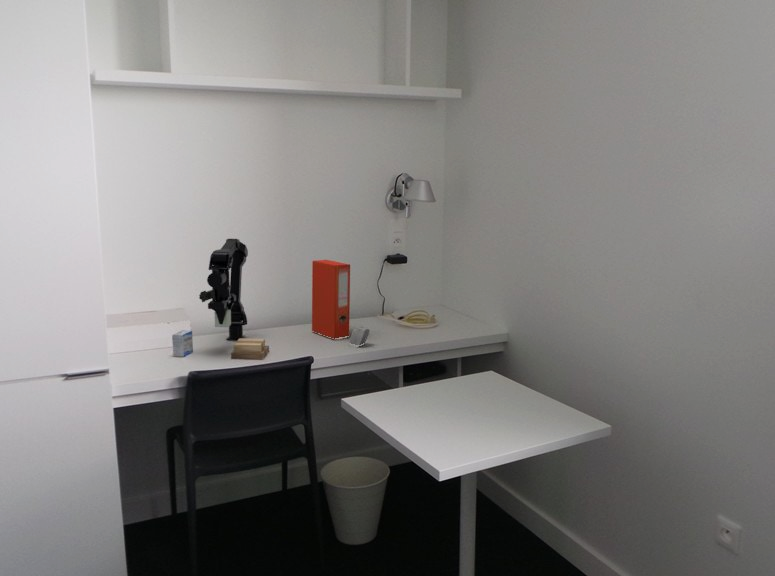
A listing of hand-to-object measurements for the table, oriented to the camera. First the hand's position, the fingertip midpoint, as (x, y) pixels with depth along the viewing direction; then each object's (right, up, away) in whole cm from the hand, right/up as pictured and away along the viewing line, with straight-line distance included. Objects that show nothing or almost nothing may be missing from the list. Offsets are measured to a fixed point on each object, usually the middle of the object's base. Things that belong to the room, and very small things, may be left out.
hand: (222, 322), depth 270 cm
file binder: (+40, -7, +30) cm, 50 cm away
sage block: (0, -1, 0) cm, 1 cm away
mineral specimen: (+53, -10, +14) cm, 56 cm away
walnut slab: (+11, -13, -3) cm, 18 cm away
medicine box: (-15, -12, -3) cm, 19 cm away
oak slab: (+11, -10, -4) cm, 16 cm away
